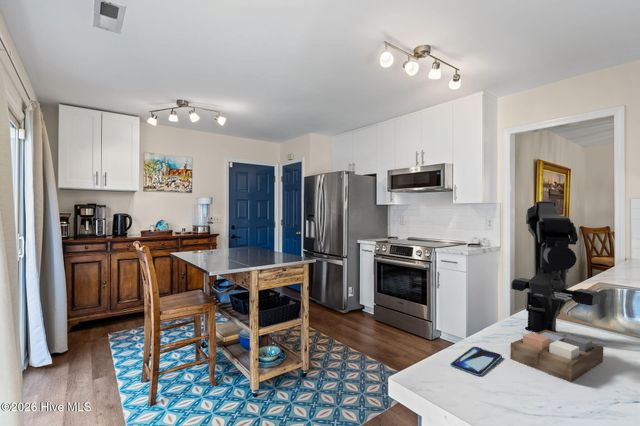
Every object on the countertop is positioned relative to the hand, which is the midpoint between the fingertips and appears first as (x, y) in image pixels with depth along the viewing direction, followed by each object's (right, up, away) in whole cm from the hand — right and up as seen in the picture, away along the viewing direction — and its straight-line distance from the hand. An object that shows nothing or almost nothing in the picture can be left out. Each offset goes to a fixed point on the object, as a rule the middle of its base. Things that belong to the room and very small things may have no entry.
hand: (551, 322), depth 86 cm
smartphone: (-23, -8, -6) cm, 25 cm away
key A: (-4, -5, -9) cm, 11 cm away
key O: (+3, -6, -5) cm, 8 cm away
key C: (0, -7, 0) cm, 7 cm away
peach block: (-7, -5, -4) cm, 9 cm away
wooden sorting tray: (-2, -8, -4) cm, 9 cm away
